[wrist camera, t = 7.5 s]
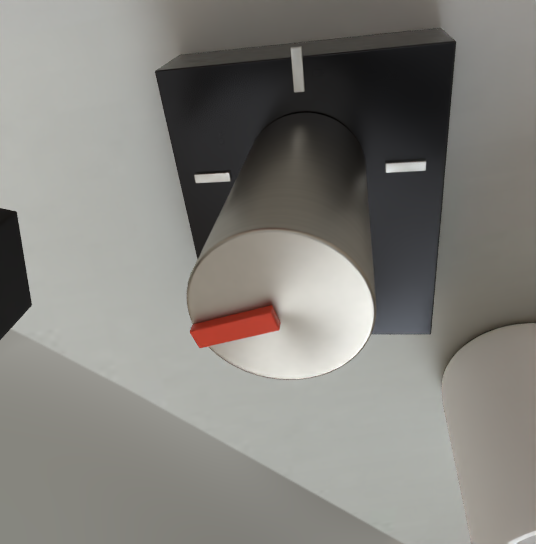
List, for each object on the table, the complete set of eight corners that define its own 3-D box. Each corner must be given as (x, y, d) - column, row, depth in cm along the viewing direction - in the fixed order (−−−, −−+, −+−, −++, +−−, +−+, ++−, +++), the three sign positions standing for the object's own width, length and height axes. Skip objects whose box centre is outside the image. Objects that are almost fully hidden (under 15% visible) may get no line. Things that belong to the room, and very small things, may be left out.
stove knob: (344, 93, 16) (341, 209, 9) (379, 205, 19) (399, 371, 11) (228, 136, 18) (147, 267, 11) (273, 236, 20) (230, 402, 13)
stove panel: (422, 294, 24) (431, 337, 22) (227, 297, 26) (213, 336, 23) (442, 18, 18) (458, 31, 15) (177, 46, 19) (150, 62, 17)
